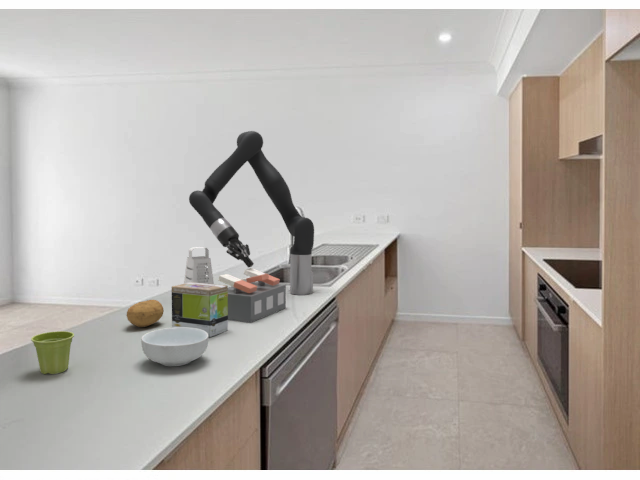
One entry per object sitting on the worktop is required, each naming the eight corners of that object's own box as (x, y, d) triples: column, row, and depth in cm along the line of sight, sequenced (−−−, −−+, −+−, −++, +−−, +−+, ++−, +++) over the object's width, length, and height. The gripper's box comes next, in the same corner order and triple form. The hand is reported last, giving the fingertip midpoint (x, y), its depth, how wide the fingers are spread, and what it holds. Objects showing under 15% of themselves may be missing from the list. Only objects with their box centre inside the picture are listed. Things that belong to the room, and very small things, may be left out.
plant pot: (41, 380, 124) (40, 344, 124) (26, 370, 131) (25, 336, 130) (81, 370, 131) (80, 336, 131) (65, 361, 138) (64, 329, 137)
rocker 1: (226, 278, 191) (227, 273, 191) (256, 291, 186) (257, 286, 186) (218, 280, 187) (219, 275, 186) (248, 293, 182) (250, 288, 182)
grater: (215, 295, 226) (215, 248, 224) (191, 297, 220) (191, 249, 218) (205, 291, 234) (205, 245, 232) (182, 293, 228) (182, 247, 227)
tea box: (228, 330, 171) (228, 284, 169) (209, 338, 161) (209, 290, 160) (191, 324, 177) (190, 280, 175) (170, 331, 168) (170, 285, 166)
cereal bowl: (127, 367, 135) (126, 339, 134) (168, 349, 150) (168, 324, 149) (184, 376, 128) (183, 347, 128) (220, 356, 144) (220, 331, 143)
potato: (117, 329, 169) (117, 305, 168) (146, 319, 182) (146, 296, 181) (142, 333, 166) (142, 307, 165) (170, 322, 179) (170, 299, 178)
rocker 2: (239, 284, 199) (238, 279, 199) (269, 278, 193) (268, 273, 193) (232, 286, 194) (231, 281, 194) (262, 280, 189) (261, 275, 189)
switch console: (257, 301, 215) (257, 275, 214) (293, 305, 208) (293, 278, 207) (211, 317, 187) (211, 287, 186) (251, 322, 180) (251, 291, 179)
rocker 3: (250, 272, 206) (251, 268, 206) (278, 283, 201) (280, 279, 201) (243, 274, 202) (244, 269, 201) (272, 285, 197) (273, 281, 197)
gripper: (220, 226, 199) (248, 261, 195) (239, 224, 211) (266, 257, 207) (208, 240, 202) (235, 274, 198) (228, 237, 214) (254, 270, 210)
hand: (251, 265), depth 203 cm, fingers closed
